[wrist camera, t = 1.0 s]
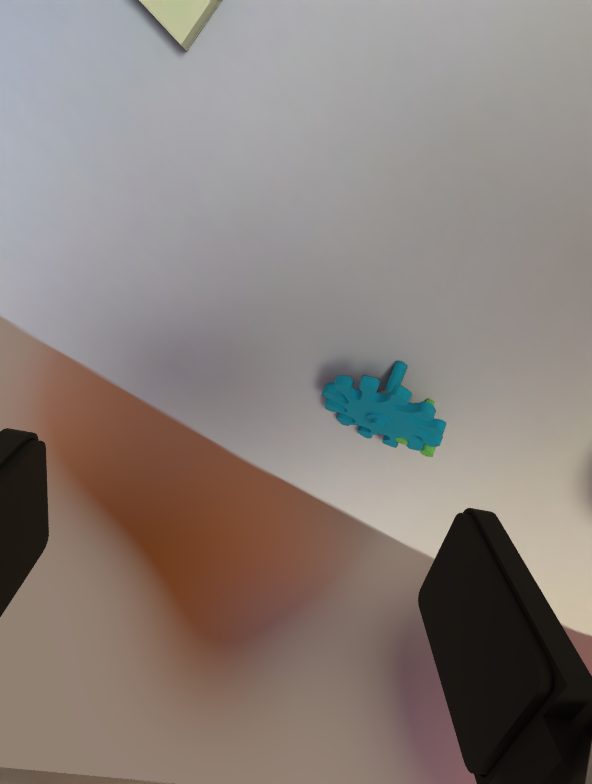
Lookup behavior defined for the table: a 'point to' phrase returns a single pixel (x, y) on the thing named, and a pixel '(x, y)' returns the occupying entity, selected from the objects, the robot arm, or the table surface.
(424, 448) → the gear
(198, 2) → the tray
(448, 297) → the table surface
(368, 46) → the table surface
